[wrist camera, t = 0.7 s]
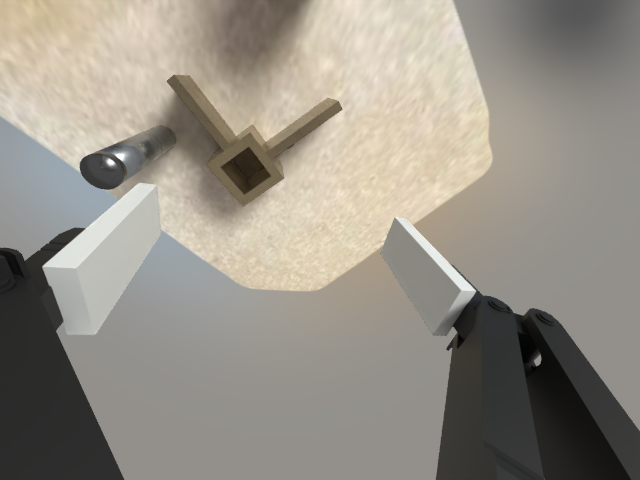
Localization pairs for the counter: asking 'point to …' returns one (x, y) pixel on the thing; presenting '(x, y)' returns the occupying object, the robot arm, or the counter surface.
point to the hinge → (247, 140)
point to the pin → (126, 157)
